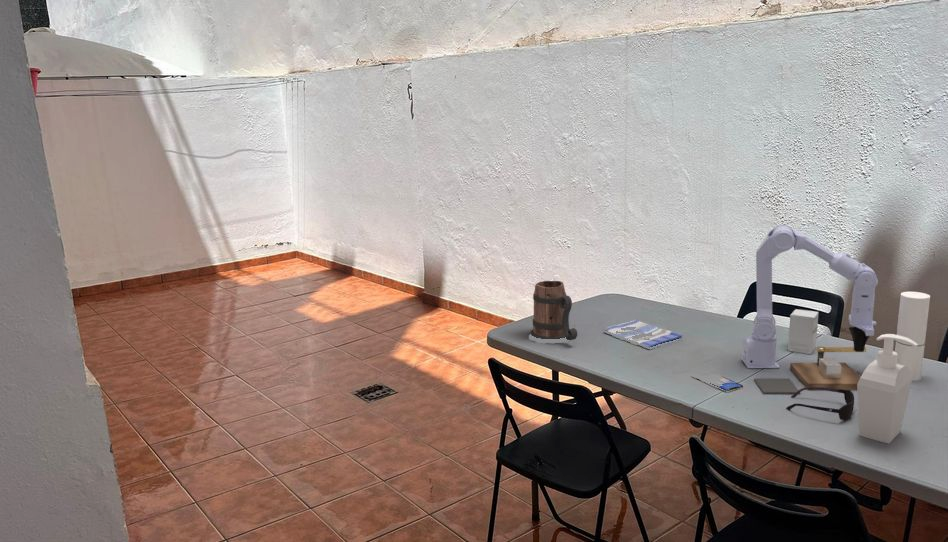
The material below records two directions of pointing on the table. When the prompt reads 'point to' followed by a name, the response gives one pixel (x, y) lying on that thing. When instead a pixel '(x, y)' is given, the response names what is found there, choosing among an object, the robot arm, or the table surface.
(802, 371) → the wooden base
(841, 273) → the robot arm
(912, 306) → the cylindrical container
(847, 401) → the sunglasses
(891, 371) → the soap bottle
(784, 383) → the rubber mat
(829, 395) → the table surface
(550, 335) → the tankard
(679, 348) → the table surface
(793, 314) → the supplement box
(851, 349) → the lever
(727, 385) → the smartphone
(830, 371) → the grey block
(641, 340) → the dish towel
